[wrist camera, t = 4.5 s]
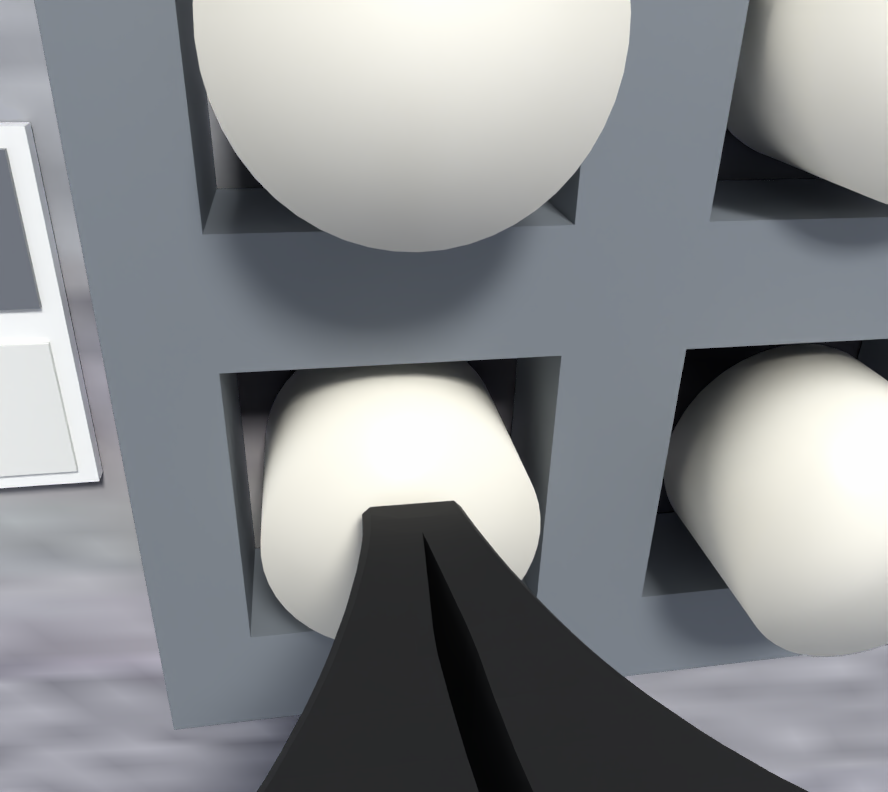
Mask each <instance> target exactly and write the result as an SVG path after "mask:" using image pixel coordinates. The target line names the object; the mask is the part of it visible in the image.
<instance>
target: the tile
mask: <svg viewBox="0 0 888 792" xmlns="http://www.w3.org/2000/svg"><path fill="white" fill-rule="evenodd" d="M102 473H103V470H102V466H101V461H100V456H99V451H98V446H97V441H96V437H95V432H94V427H93V422H92V417H91V413H90V408H89V403H88V398H87V393H86V388H85V384H84V379H83V374H82V369H81V364H80V360H79V355H78V350H77V345H76V340H75V335H74V331H73V326H72V321H71V316H70V311H69V306H68V302H67V297H66V292H65V287H64V282H63V278H62V273H61V268H60V263H59V258H58V253H57V249H56V244H55V239H54V234H53V229H52V224H51V220H50V215H49V210H48V205H47V200H46V196H45V191H44V186H43V181H42V176H41V171H40V167H39V162H38V157H37V152H36V147H35V142H34V138H33V133H32V128H31V123H30V122H4V123H0V488H11V487H25V486H39V485H53V484H67V483H81V482H95V481H100V478H101V475H102Z"/></svg>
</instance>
